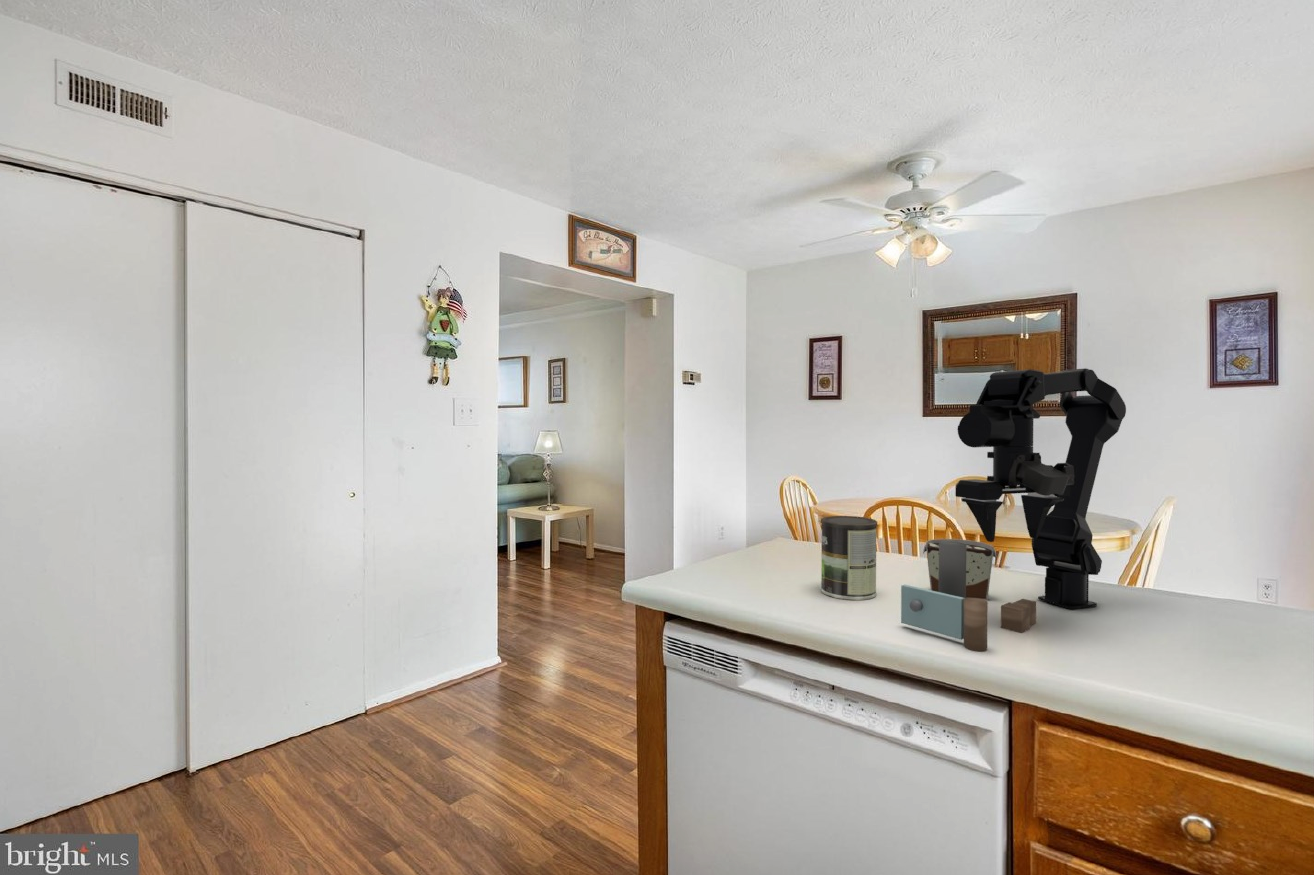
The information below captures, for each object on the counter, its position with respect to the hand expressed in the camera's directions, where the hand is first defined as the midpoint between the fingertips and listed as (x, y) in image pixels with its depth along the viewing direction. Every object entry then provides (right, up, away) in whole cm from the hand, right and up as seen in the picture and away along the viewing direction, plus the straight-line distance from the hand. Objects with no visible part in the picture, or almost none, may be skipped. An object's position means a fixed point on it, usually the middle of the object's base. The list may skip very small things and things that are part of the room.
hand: (1012, 539), depth 99 cm
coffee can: (-22, -13, +15) cm, 30 cm away
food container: (-2, -13, +14) cm, 19 cm away
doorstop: (-11, -13, -3) cm, 18 cm away
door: (-17, -13, -8) cm, 23 cm away
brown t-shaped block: (-6, -13, -8) cm, 17 cm away
